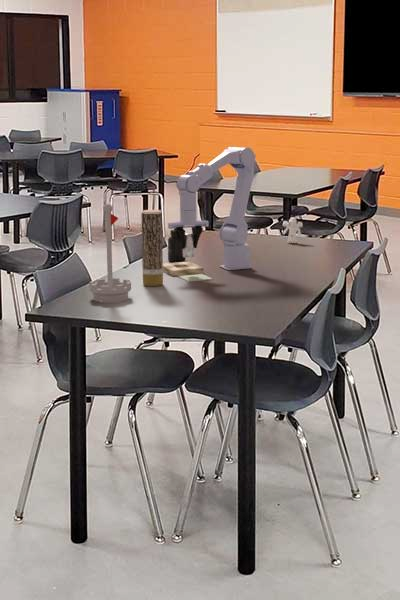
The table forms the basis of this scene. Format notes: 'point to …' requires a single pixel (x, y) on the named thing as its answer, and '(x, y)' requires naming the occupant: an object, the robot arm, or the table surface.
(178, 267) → the plate
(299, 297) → the table surface
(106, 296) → the flag stand
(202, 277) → the sage mat
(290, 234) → the hat wearing toy figure
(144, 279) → the paper tube
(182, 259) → the supplement bottle
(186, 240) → the clear glass cup
